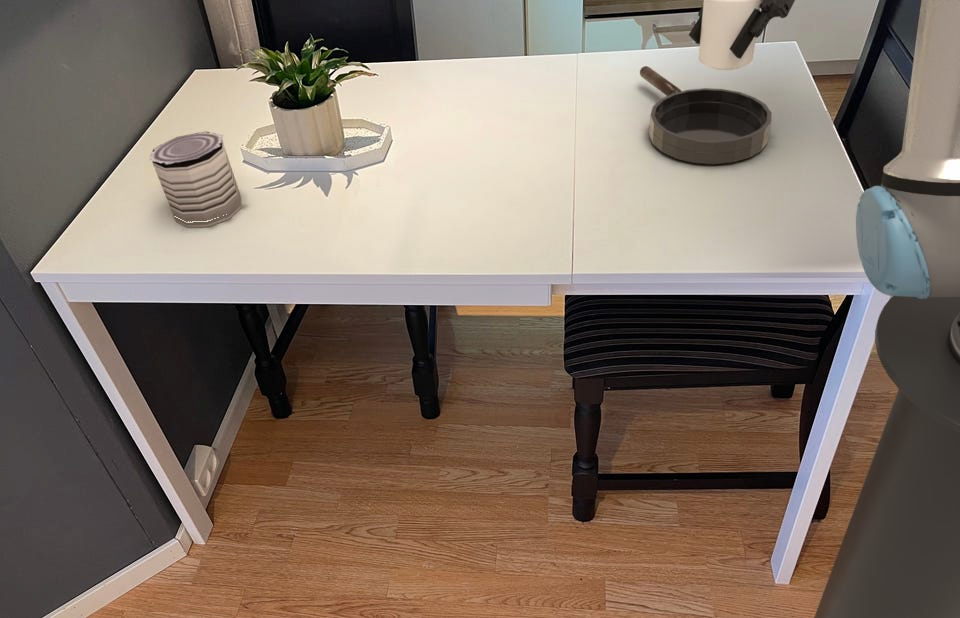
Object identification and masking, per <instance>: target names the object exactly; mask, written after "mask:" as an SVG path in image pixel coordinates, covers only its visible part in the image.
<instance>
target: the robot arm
mask: <svg viewBox="0 0 960 618" xmlns="http://www.w3.org/2000/svg"><path fill="white" fill-rule="evenodd" d="M795 1H796V0H762V1H761V4H760V5H759V7H760V11H759V10H758V9H754V11H753V12H752V14H751V15H750V17H749V18H748V20H747V22H746V23H745V25H744V26H743V28H742V29H741V31H740V33H739V34H738V36H737V37H736V39H735V41H734V42H733V44H732V45H731V47H730V50H731V51H732V53H733V54H734V55H735V56H736V57H737V58H740V59H741V57H742V56H743V54H744V53H745V51H746V50H747V48H748V46H749V45H750V43H751V42H752V40H753V38H754V37H756V39H758V38H759V37H760V36H761V35H762V33H763V32H764V30H765V29H766V27H767V25H768V24H769V22H770V21H771V20H772V19H774V18H781V19H785V18H786V17H787V16H788V15H789V13H790V11H791V9H792V7H793V5H794V3H795ZM920 1H921V2H920V8H919V18H918V23H917V30H916V31H917V32H916V39H915V47H914V54H913V62H912V70H911V77H910V85H909V92H908V101H907V107H906V108H907V109H906V114H905V115H906V116H905V123H904V132H903V139H902V146H901V151H900V152H899V154H898V155H897V156H895V157H894V158H892V160H890V161H889V162H887V163H886V164H885V165H884V166H883V169H882V177H881V184H880V185H873V186H872V187H869V188H867V189H865V190H864V191H863V192H862V193H861V195H860V197H859V202H858V203H857V206H856V213H855V236H856V244H857V250H858V254H859V258H860V263H861V265H862V268H863V271H864V273H865V275H866V277H867V280H868V281H869V282H870V284H871V285H872V287H874V288H875V289H876V290H877V291H879V292H880V293H882V294H883V295H886V296H889V297H893V296H904V297H917V298H919V299H927V298H928V297H960V0H920ZM697 13H698V14H697V16H698V19H697V20H696V22H695V24H694V25H693V26H692V28H691V30H690V32H689V34H688V36H689V37H690V38H691V39H692V40H693V42H694V43H695V44H696V45H700V36H701V26H702V15H703V5H702V6H701V7H700V9H699V11H698V12H697ZM948 343H949V347H950V350H951V352H952V354H953V356H954V357H955V359H956V360H957V361H958V363H959V364H960V313H959V314H958V315H957V317H956V318H955V320H954V322H953V324H952V326H951V329H950V331H949V335H948Z"/></svg>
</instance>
